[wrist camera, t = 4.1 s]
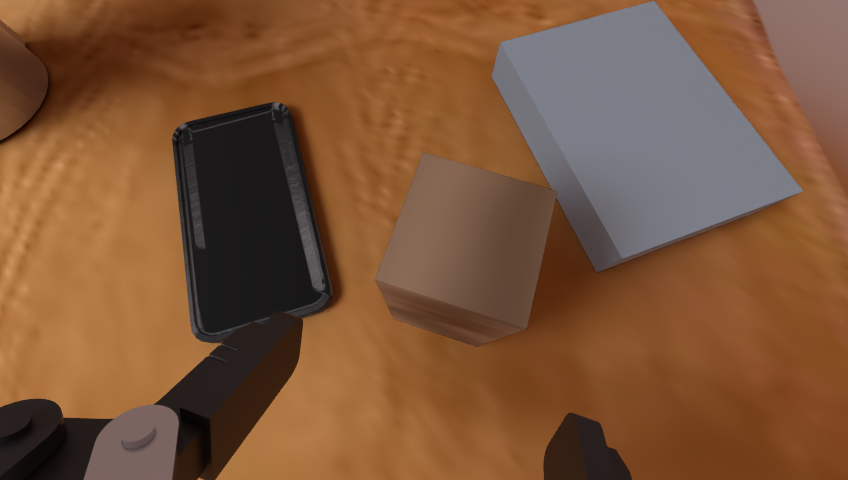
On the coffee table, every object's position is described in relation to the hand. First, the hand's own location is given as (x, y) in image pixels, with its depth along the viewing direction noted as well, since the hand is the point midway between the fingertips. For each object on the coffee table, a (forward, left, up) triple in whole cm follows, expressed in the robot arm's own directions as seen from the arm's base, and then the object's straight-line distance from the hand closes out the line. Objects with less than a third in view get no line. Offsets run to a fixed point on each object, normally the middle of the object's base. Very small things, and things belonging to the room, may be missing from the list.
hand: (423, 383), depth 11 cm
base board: (-10, +18, -10) cm, 23 cm away
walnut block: (-4, +3, -10) cm, 11 cm away
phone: (-13, -7, -11) cm, 18 cm away
